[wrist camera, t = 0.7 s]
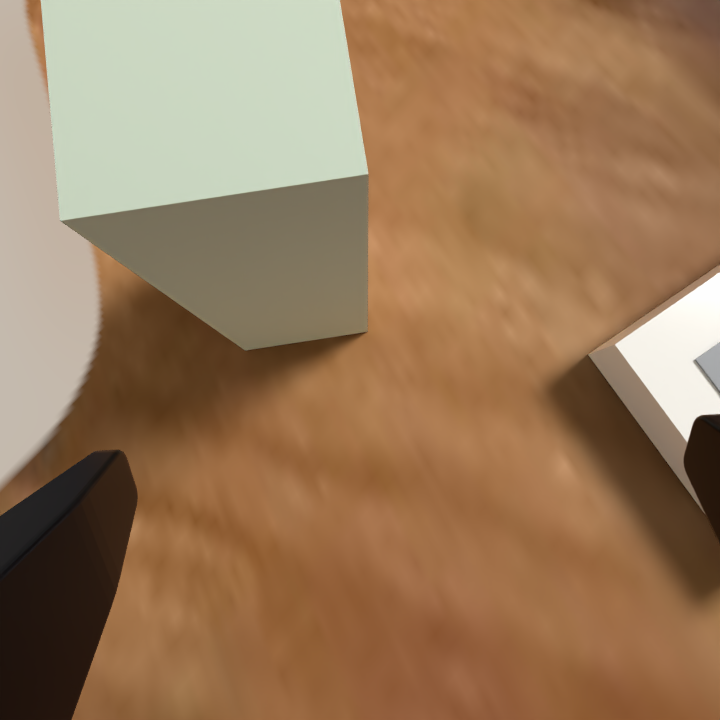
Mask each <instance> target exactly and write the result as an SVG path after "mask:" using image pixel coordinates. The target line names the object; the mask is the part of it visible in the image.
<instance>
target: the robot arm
mask: <svg viewBox="0 0 720 720" xmlns="http://www.w3.org/2000/svg"><path fill="white" fill-rule="evenodd" d="M683 463H684V468H685V472H686V474H687V476H688V478H689V481H690V483H691V485H692V487H693V489H694V491H695V493H696V495H697V498H698V500H699V502H700V504H701V506H702V508H703V510H704V512H705V515H706V517H707V519H708V521H709V523H710V525H711V527H712V530H713V532H714V534H715V536H716V538H717V540H718V542H719V544H720V414H708V415H700V416H698V417H697V418H696V419H695V420H694V422H693V425H692V428H691V432H690V435H689V439H688V442H687V446H686V449H685V453H684V459H683ZM137 499H138V496H137V488H136V485H135V482H134V479H133V476H132V473H131V470H130V466H129V463H128V460H127V457H126V455H125V454H124V452H122V451H121V450H102V451H95V452H93V453H91V454H90V455H88V456H87V457H86V458H84V459H83V460H81V461H80V462H78V463H77V464H75V465H74V466H72V467H71V468H70V469H68V470H67V471H65V472H64V473H62V474H61V475H59V476H58V477H56V478H55V479H53V480H52V481H51V482H49V483H48V484H46V485H45V486H43V487H42V488H40V489H39V490H37V491H36V492H34V493H33V494H32V495H30V496H29V497H27V498H26V499H24V500H23V501H21V502H20V503H18V504H17V505H15V506H14V507H13V508H11V509H10V510H8V511H7V512H5V513H4V514H2V515H1V516H0V720H72V717H73V714H74V711H75V708H76V705H77V703H78V700H79V697H80V694H81V691H82V689H83V686H84V683H85V680H86V677H87V674H88V672H89V669H90V666H91V663H92V660H93V657H94V655H95V652H96V649H97V646H98V643H99V640H100V638H101V635H102V632H103V629H104V626H105V624H106V621H107V618H108V615H109V612H110V609H111V607H112V603H113V600H114V597H115V594H116V591H117V587H118V583H119V579H120V575H121V571H122V567H123V562H124V558H125V554H126V549H127V545H128V541H129V537H130V532H131V528H132V524H133V519H134V515H135V511H136V506H137Z"/></svg>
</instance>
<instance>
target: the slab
mask: <svg viewBox="0 0 720 720" xmlns="http://www.w3.org/2000/svg"><path fill="white" fill-rule="evenodd" d="M588 355H589V357H590V358H591V359H592V361H593V362H594V363H595V365H596V366H597V368H598V369H599V370H600V372H601V373H602V374H603V376H604V377H605V378H606V380H607V381H608V383H609V384H610V385H611V387H612V388H613V389H614V391H615V392H616V393H617V395H618V396H619V398H620V399H621V400H622V402H623V403H624V404H625V406H626V407H627V408H628V410H629V411H630V413H631V414H632V415H633V417H634V418H635V419H636V421H637V422H638V424H639V425H640V426H641V428H642V429H643V430H644V432H645V433H646V434H647V436H648V437H649V439H650V440H651V441H652V443H653V444H654V445H655V447H656V448H657V449H658V451H659V452H660V454H661V455H662V456H663V458H664V459H665V460H666V462H667V463H668V464H669V466H670V467H671V469H672V470H673V471H674V473H675V474H676V475H677V477H678V478H679V479H680V481H681V482H682V484H683V485H684V486H685V488H686V489H687V490H688V492H689V493H690V494H691V496H692V497H693V499H694V500H695V501H696V503H697V504H698V505H699V507H700V508H701V509H702V511H703V512H704V510H703V508H702V506H701V504H700V502H699V500H698V498H697V495H696V493H695V491H694V489H693V487H692V485H691V483H690V481H689V478H688V476H687V474H686V472H685V468H684V463H683V459H684V453H685V449H686V446H687V442H688V439H689V435H690V432H691V428H692V425H693V422H694V420H695V419H696V418H697V417H698V416H700V415H708V414H720V264H719V265H718V266H716V267H715V268H714V269H712V270H711V271H709V272H708V273H706V274H705V275H703V276H702V277H700V278H699V279H697V280H696V281H695V282H693V283H692V284H690V285H689V286H687V287H686V288H684V289H683V290H681V291H680V292H678V293H677V294H675V295H674V296H673V297H671V298H670V299H668V300H667V301H665V302H664V303H662V304H661V305H659V306H658V307H656V308H655V309H654V310H652V311H651V312H649V313H648V314H646V315H645V316H643V317H642V318H640V319H639V320H637V321H636V322H635V323H633V324H632V325H630V326H629V327H627V328H626V329H624V330H623V331H621V332H620V333H618V334H617V335H616V336H614V337H613V338H611V339H610V340H608V341H607V342H605V343H604V344H602V345H601V346H599V347H598V348H597V349H595V350H594V351H592V352H591V353H589V354H588ZM704 514H705V512H704Z"/></svg>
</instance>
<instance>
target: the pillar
mask: <svg viewBox="0 0 720 720" xmlns="http://www.w3.org/2000/svg"><path fill="white" fill-rule="evenodd" d="M41 8H42V19H43V31H44V42H45V54H46V65H47V77H48V88H49V100H50V111H51V123H52V134H53V146H54V156H55V169H56V180H57V191H58V203H59V214H60V221H61V222H63V223H64V224H65V225H67V226H68V227H70V228H71V229H72V230H74V231H75V232H77V233H78V234H80V235H81V236H82V237H84V238H86V239H87V240H88V241H90V242H91V243H92V244H94V245H95V246H97V247H98V248H100V249H101V250H102V251H104V252H105V253H107V254H108V255H110V256H111V257H112V258H114V259H115V260H117V261H118V262H120V263H121V264H122V265H124V266H125V267H127V268H128V269H130V270H131V271H132V272H134V273H135V274H137V275H138V276H140V277H141V278H142V279H144V280H145V281H147V282H148V283H150V284H151V285H152V286H154V287H155V288H157V289H158V290H159V291H161V292H162V293H164V294H165V295H167V296H168V297H169V298H171V299H172V300H174V301H175V302H177V303H178V304H179V305H181V306H182V307H184V308H185V309H187V310H188V311H189V312H191V313H192V314H194V315H195V316H197V317H198V318H199V319H201V320H202V321H204V322H205V323H207V324H208V325H209V326H211V327H212V328H214V329H215V330H217V331H218V332H219V333H221V334H222V335H224V336H225V337H227V338H228V339H229V340H231V341H232V342H234V343H235V344H236V345H238V346H239V347H241V348H242V349H244V350H245V351H246V350H252V349H259V348H265V347H272V346H278V345H285V344H291V343H298V342H304V341H311V340H317V339H324V338H330V337H337V336H343V335H350V334H356V333H363V332H368V169H367V163H366V157H365V151H364V145H363V139H362V133H361V127H360V120H359V114H358V108H357V102H356V96H355V90H354V84H353V78H352V72H351V66H350V60H349V54H348V48H347V41H346V35H345V29H344V23H343V17H342V11H341V5H340V0H41Z"/></svg>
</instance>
